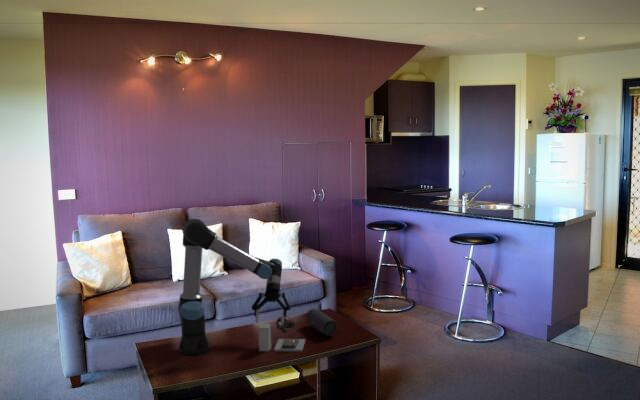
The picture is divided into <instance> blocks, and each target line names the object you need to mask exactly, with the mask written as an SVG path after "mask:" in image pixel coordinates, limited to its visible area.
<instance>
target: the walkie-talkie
mask: <svg viewBox="0 0 640 400" xmlns="http://www.w3.org/2000/svg"><path fill="white" fill-rule="evenodd" d="M276 321H277V323H278V324H277V325H278V328H280V329H283V331H285V332H287V331H288V330H287V328H291V327H295V321H294V320H293V319H291V318H290V316H287V315H286V317H284V323H282V316H279V317H278V318H277V319H276Z"/></svg>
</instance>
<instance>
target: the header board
mask: <svg viewBox="0 0 640 400" xmlns="http://www.w3.org/2000/svg"><path fill="white" fill-rule="evenodd" d="M283 340H285V346H287V340H290V346H292V340H294V346H296V348H281V347H282V345H283ZM305 343H306V338H278V340H277V342H276V344H275V346H274V349H273V352H303V350H304V348H305V347H304V346H305Z"/></svg>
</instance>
